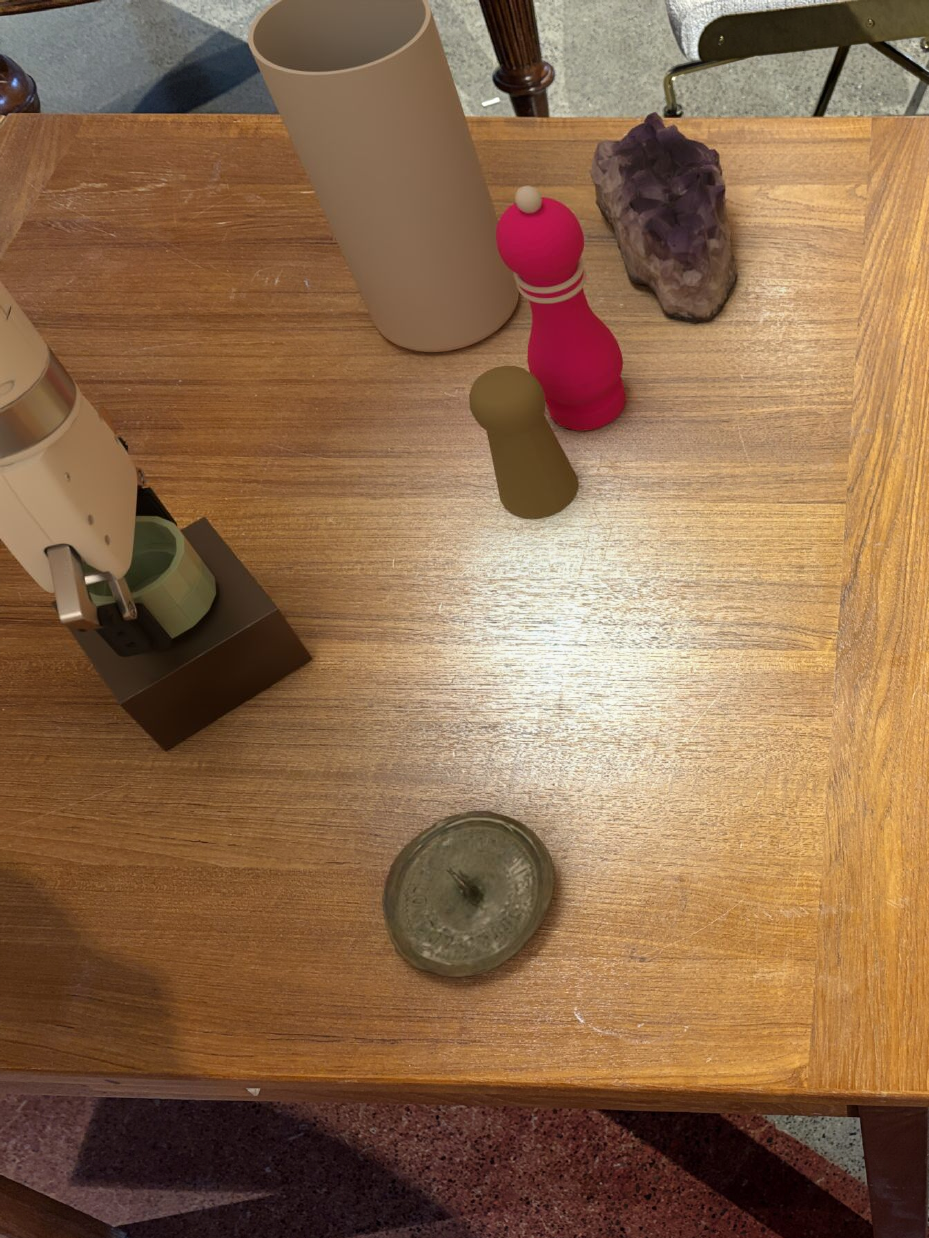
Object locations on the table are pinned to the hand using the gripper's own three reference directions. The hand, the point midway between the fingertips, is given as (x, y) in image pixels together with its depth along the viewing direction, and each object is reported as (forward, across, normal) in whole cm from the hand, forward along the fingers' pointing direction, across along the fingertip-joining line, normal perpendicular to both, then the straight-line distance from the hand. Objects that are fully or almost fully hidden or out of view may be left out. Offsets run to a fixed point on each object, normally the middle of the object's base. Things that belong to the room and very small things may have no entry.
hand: (151, 590), depth 83 cm
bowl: (+2, 0, 0) cm, 2 cm away
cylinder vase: (+8, -32, +20) cm, 39 cm away
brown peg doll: (+8, -9, +25) cm, 27 cm away
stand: (+8, 0, 0) cm, 8 cm away
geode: (+8, -34, +40) cm, 53 cm away
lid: (+8, +24, +17) cm, 30 cm away
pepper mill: (+8, -17, +29) cm, 35 cm away
